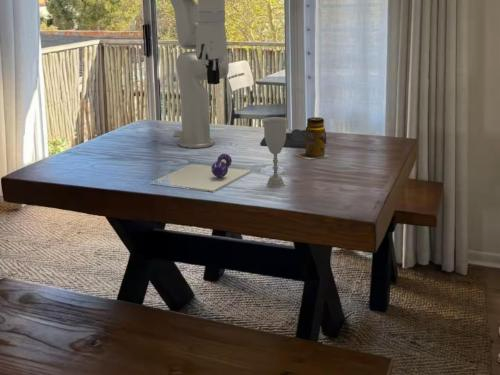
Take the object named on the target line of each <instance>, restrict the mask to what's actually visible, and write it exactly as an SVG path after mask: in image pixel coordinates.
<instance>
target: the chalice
mask: <svg viewBox="0 0 500 375" xmlns="http://www.w3.org/2000/svg"><path fill="white" fill-rule="evenodd" d="M261 120H262V123H263V125H264V127H263V128H264V130H263V131H264V134H263V138H265V141H266V144H267V146H266V147H267V148H268V150H269V152H270V154H272V155H273V159H272V163H273V166H272V167H271V168H272V170H273V174H272V175H270V177H269V178H268V181H267V183H266V185H265V186H266V187H268V188H272V189H273V188H277V189H278V188H283V187H284V186H286V184H285V182H284V180H283V178H282V176H280V175H279V174H278V169H279V167H278V162H279V160H278V154H280V153H281V151H282V149H283V148H284V147H283V146H284V143H285V140H286V133H287V123H288V121H289V119H288V118H287V117H282V116H280V117H279V116H275V117H274V116H271V117H264V118H262V119H261Z"/></svg>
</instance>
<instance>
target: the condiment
mask: <svg viewBox="0 0 500 375" xmlns="http://www.w3.org/2000/svg"><path fill="white" fill-rule="evenodd" d="M306 122H307V123H306V126H305V130H306V149H305V153H297V154H296V156H297V157H298V158H303V159H306V160H314V159H320V158H326V157H327V158H328V157H330V156H331V155H330V154H329V155H328V154H325V152H326V151H325V149H326V148H325V146H326V144H325V132H326V127H325V124H324V123H325V119H324V118H322V117H318V116H317V117H309V118H308V117H307V119H306Z"/></svg>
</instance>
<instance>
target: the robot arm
mask: <svg viewBox="0 0 500 375" xmlns="http://www.w3.org/2000/svg"><path fill="white" fill-rule="evenodd" d="M169 1H170V3H171V5H172V8H173V12H174V18H175V19H174V20H175V27H176V28H175V29H176V36H177V42H178V45H179V46H180V48H182V49H184V50H191V51H185V52H181V53H180V54H179V55H177V58H176V61H175V65H176V72H177V76H178V77H177V78H178V82H179V92H180V93H179V94H180V111H181V112H180V114H181V130H175V131H174V132H173V135H172V136H173V137H174V138H179V140H178V141H177V144H179V145H180V146H179V145H178V146H179V147H181V146H183V147H182V148H185V147H188V148H187V149H199V148H201V149H202V148H208V147H212V146H214V145H215V139H213V138H211V132H210V130H211V128H210V126H211V125H210V103H209V102H210V100H209V99H210V98H209V92H208V90H207V88H206V87H205V86H204V85H203V84H202V83H201V81H207V84H208V85H218V84H220V83H221V82H220V79H222V80H223V79H225V78H226V77H228V74H229V71H230V70H229V69H230V68H229V67H230V65H229V57H228V56H229V55H228V48H227V46H228V42H227V30H226V29H227V28H226V2H225V1H226V0H197V2H196V1H195V0H169ZM192 50H195V51H192Z"/></svg>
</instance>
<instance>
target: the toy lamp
mask: <svg viewBox="0 0 500 375" xmlns="http://www.w3.org/2000/svg"><path fill="white" fill-rule="evenodd" d="M231 165H232V157H231V156H230V155H229V154H227V153H222V154H220V155H219V156H218V158H217V161H215V162H214V163H213V164H212V165H211V166H212V168H211V170H212V173H213V175H214V176H216V177H224V176H225V175H226V174H227V172H228V168H230V166H231Z"/></svg>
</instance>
